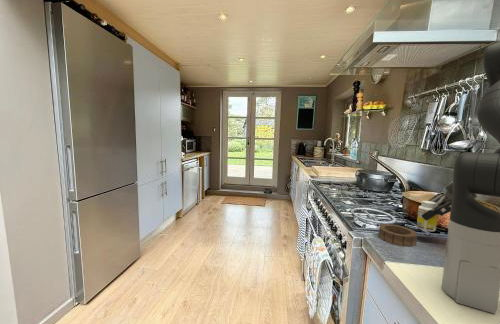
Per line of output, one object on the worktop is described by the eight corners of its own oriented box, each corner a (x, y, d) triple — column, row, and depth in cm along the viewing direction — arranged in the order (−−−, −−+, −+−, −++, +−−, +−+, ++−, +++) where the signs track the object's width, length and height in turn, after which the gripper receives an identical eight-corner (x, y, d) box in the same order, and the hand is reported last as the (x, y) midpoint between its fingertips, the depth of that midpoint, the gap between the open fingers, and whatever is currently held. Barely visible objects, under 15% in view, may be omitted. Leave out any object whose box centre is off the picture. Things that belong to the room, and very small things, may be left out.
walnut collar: (417, 249, 74) (418, 239, 73) (379, 241, 79) (379, 231, 79) (413, 237, 84) (413, 228, 83) (378, 230, 89) (379, 222, 89)
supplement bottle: (437, 230, 81) (440, 202, 80) (433, 233, 78) (436, 204, 77) (418, 225, 85) (421, 199, 85) (414, 228, 82) (417, 201, 81)
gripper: (449, 176, 83) (408, 203, 89) (467, 182, 70) (418, 212, 76) (466, 192, 82) (423, 218, 87) (488, 201, 68) (435, 230, 74)
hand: (421, 215), depth 82 cm, fingers closed on supplement bottle, 5 cm apart
